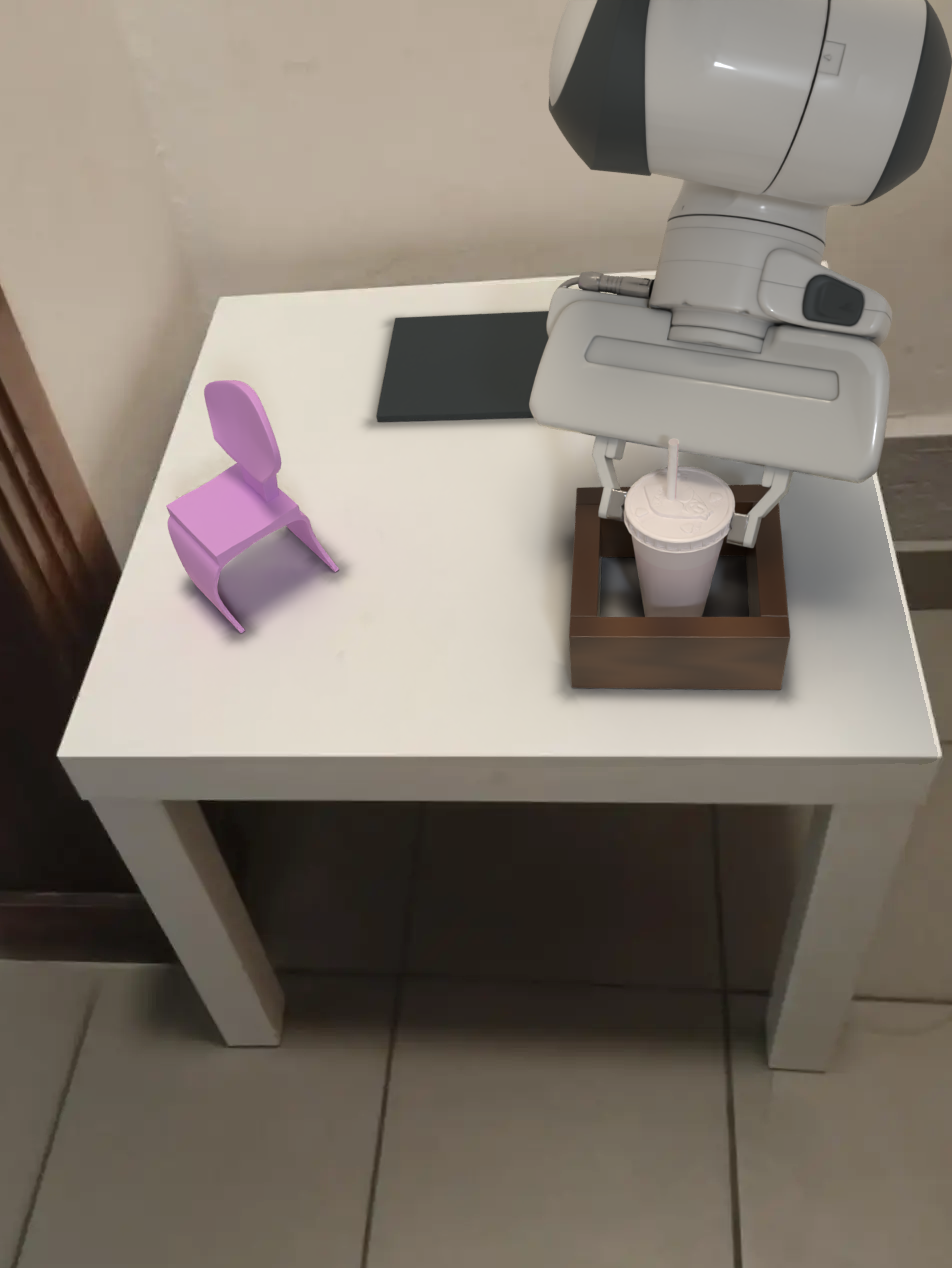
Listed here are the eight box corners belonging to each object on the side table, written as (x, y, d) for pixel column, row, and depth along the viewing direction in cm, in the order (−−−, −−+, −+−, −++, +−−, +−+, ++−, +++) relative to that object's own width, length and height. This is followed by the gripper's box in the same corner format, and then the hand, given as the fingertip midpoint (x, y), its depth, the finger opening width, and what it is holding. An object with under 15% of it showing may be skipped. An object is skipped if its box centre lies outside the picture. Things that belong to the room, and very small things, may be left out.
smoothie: (658, 560, 81) (664, 393, 70) (743, 599, 78) (764, 431, 67) (603, 622, 79) (600, 459, 68) (689, 665, 76) (702, 502, 65)
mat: (618, 313, 97) (618, 307, 96) (615, 415, 90) (615, 408, 90) (396, 323, 100) (394, 317, 100) (377, 422, 93) (375, 416, 93)
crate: (769, 538, 81) (777, 483, 77) (780, 690, 74) (790, 637, 70) (578, 540, 83) (576, 487, 79) (571, 688, 76) (569, 637, 72)
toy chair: (180, 579, 86) (110, 413, 74) (282, 516, 89) (230, 345, 76) (242, 646, 82) (178, 481, 70) (348, 577, 84) (303, 406, 72)
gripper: (543, 255, 70) (494, 497, 73) (918, 304, 63) (848, 569, 66) (571, 277, 75) (525, 500, 78) (918, 324, 68) (853, 567, 71)
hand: (675, 532), depth 72 cm, fingers closed on smoothie, 6 cm apart
